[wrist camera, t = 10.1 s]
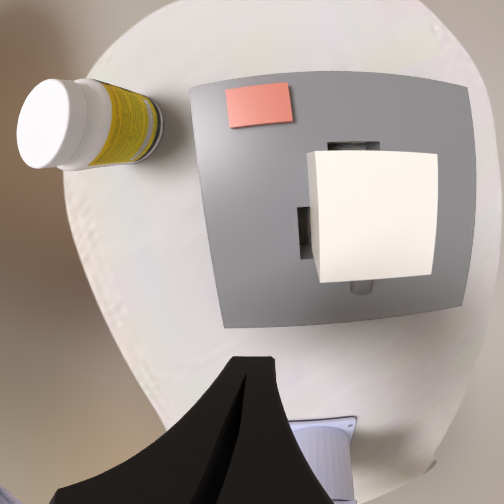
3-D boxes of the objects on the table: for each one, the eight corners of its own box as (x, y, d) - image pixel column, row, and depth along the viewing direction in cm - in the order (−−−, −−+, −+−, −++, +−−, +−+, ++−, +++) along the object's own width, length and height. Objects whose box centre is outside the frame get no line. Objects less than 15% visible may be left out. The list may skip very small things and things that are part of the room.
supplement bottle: (161, 86, 15) (78, 51, 7) (169, 155, 16) (81, 161, 8) (102, 107, 15) (11, 97, 7) (109, 170, 17) (16, 188, 9)
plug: (386, 265, 16) (424, 312, 11) (309, 270, 17) (319, 323, 11) (388, 153, 14) (437, 154, 8) (304, 153, 15) (314, 150, 9)
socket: (446, 289, 17) (465, 310, 14) (231, 308, 19) (222, 333, 16) (447, 93, 12) (472, 85, 9) (202, 96, 15) (185, 85, 12)
